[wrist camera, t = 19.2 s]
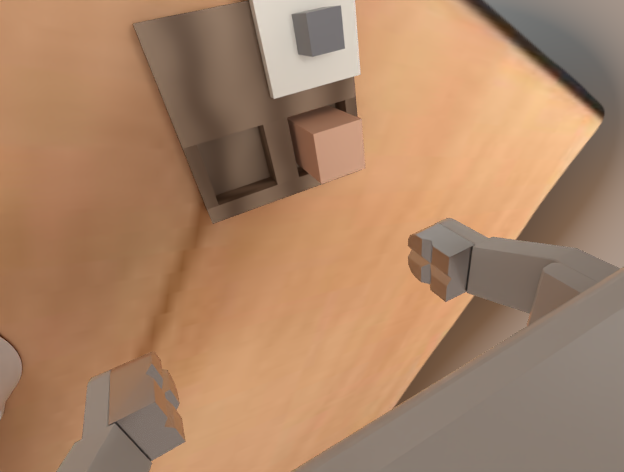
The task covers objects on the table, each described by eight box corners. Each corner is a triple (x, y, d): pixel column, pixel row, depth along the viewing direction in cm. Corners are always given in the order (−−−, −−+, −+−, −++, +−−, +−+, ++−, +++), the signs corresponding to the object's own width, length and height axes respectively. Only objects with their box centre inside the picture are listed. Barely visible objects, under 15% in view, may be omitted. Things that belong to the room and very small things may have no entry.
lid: (270, 97, 32) (285, 104, 29) (243, -24, 27) (258, -30, 23) (355, 73, 34) (377, 78, 31) (345, -43, 29) (371, -51, 26)
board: (207, 209, 38) (212, 223, 36) (132, 23, 28) (132, 23, 25) (347, 160, 43) (361, 169, 40) (327, -16, 33) (345, -20, 30)
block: (294, 161, 39) (321, 184, 34) (285, 117, 36) (313, 134, 31) (333, 148, 40) (365, 168, 35) (328, 105, 37) (361, 118, 32)
